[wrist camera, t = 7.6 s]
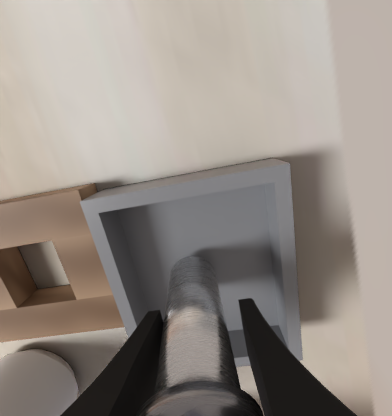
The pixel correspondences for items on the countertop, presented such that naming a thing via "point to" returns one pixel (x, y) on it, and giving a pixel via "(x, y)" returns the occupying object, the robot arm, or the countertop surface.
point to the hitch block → (71, 261)
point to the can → (35, 384)
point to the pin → (196, 350)
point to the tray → (204, 243)
